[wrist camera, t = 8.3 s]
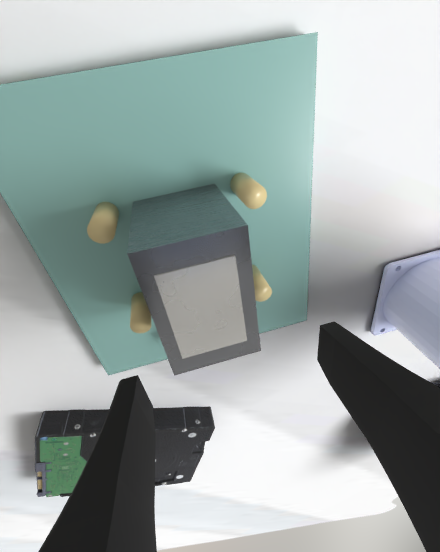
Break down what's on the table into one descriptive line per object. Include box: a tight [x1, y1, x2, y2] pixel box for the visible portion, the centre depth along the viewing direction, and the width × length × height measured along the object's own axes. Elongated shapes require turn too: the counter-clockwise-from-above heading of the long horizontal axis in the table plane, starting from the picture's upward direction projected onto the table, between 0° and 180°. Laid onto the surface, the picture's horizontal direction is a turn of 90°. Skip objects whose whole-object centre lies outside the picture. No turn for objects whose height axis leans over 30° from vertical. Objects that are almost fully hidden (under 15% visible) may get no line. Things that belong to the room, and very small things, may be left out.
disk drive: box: [35, 407, 215, 497], centre depth 27 cm, size 10×3×15 cm
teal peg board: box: [0, 32, 318, 375], centre depth 16 cm, size 16×18×4 cm
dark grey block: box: [127, 184, 261, 375], centre depth 15 cm, size 4×7×6 cm, turn 9°
